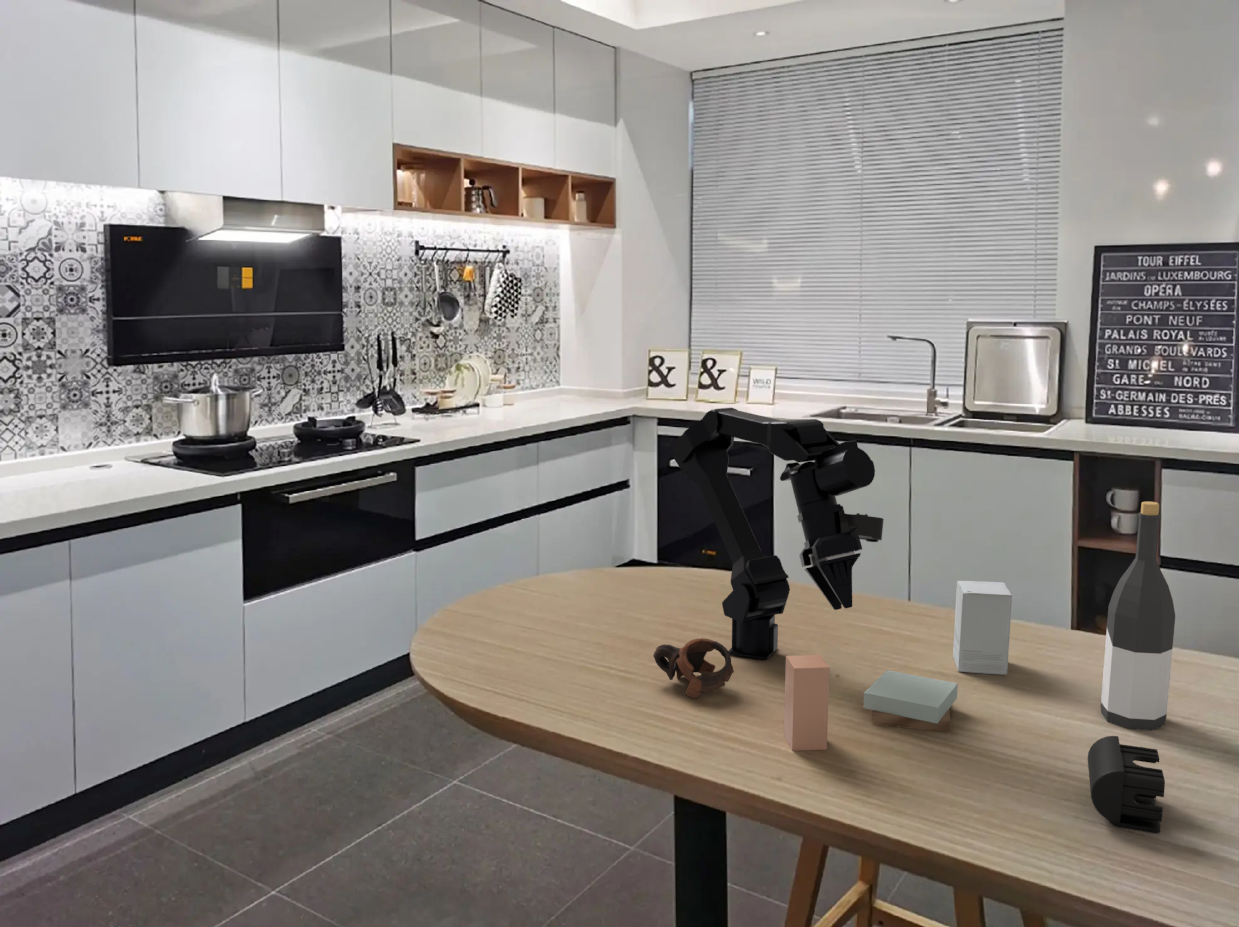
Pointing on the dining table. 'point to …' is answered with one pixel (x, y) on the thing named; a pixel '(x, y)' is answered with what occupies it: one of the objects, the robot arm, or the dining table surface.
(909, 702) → the slab upper
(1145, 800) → the end cap
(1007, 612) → the supplement box
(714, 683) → the brown curved piece
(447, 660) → the dining table surface
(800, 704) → the terracotta block
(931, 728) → the slab lower
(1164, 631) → the wine bottle
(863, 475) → the robot arm
